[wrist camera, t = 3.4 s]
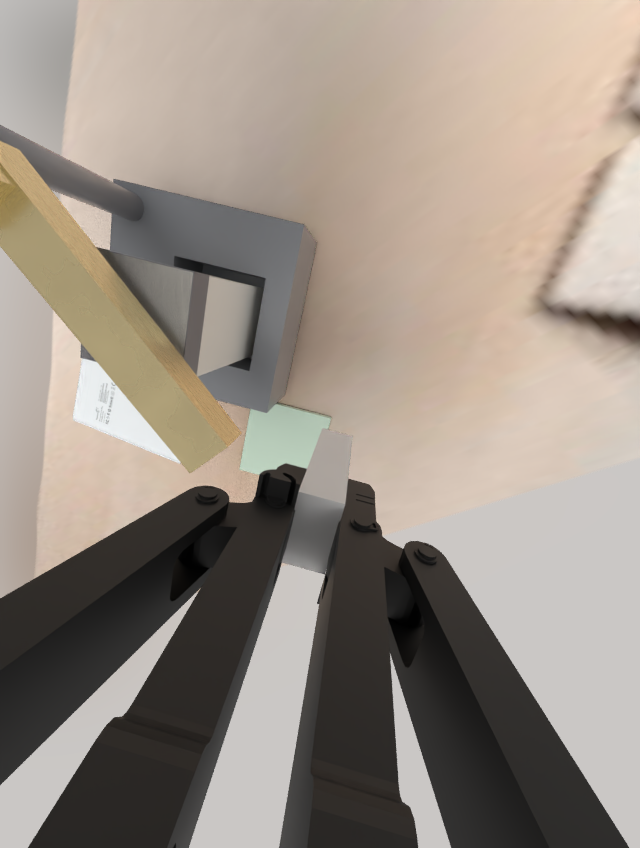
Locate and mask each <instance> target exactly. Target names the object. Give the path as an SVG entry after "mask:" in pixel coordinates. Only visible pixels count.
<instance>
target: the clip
mask: <svg viewBox="0 0 640 848" xmlns="http://www.w3.org/2000/svg"><path fill="white" fill-rule="evenodd" d="M0 246H1V248H2V249H3V250H4V251H5V253H6V254H7V255H8V256H9V257H10V259H12V261H13V262H14V263H15V264H16V266H17V267H18V268H19V269H20V270H21V272H22V273H23V274H24V275H25V276H26V278H27V279H28V280H29V281H30V282H31V284H32V285H33V286H34V287H35V289H37V291H38V292H39V293H40V294H41V296H42V297H43V298H44V299H45V300H46V302H47V303H48V304H49V305H50V306H51V308H52V309H53V310H54V311H55V312H56V314H57V315H58V316H59V317H60V318H61V320H62V321H63V322H64V323H65V324H66V326H67V327H68V328H69V329H70V330H71V332H72V333H73V334H74V335H75V336H76V338H77V339H78V340H79V341H80V342H81V344H82V345H83V346H84V347H85V348H86V350H87V351H88V352H89V353H90V354H91V356H92V357H93V358H94V359H95V360H96V362H97V363H98V364H99V365H100V366H101V368H102V369H103V370H104V371H105V372H106V374H107V375H108V376H109V377H110V378H111V380H112V381H113V382H114V383H115V384H116V386H117V387H118V388H119V389H120V390H121V392H122V393H123V394H124V395H125V396H126V397H127V399H128V400H129V401H130V402H131V403H132V405H133V406H134V407H135V408H136V409H137V411H138V412H139V413H140V414H141V415H142V417H143V418H144V419H145V420H146V421H147V423H148V424H149V425H150V426H151V427H152V429H153V430H154V431H155V432H156V433H157V435H158V436H159V437H160V438H161V439H162V441H163V442H164V443H165V444H166V445H167V447H168V448H169V449H170V450H171V451H172V453H173V454H174V455H175V456H176V457H177V459H178V460H179V461H180V462H181V463H182V465H183V466H184V467H185V468H186V469H187V471H188V472H189V473H191V472H193V471H194V470H196V469H197V468H198V467H200V466H201V465H203V464H204V463H206V462H207V461H208V460H210V459H211V458H213V457H214V456H216V455H217V454H218V453H220V452H221V451H223V450H224V449H226V448H227V447H228V446H229V445H230V444H231V443H232V442H233V441H234V440H235V439H236V438H237V437H238V436H239V435H240V434H241V431H240V430H239V429H238V428H237V426H236V425H235V424H234V422H233V421H232V420H231V419H230V417H229V416H228V415H227V414H226V412H225V411H224V410H223V408H222V407H221V406H220V405H219V403H218V402H217V401H216V399H215V398H214V397H213V396H212V394H211V393H210V392H209V391H208V389H207V388H206V387H205V385H204V384H203V383H202V382H201V380H200V379H199V378H198V377H197V375H196V374H195V373H194V371H193V370H192V369H191V368H190V366H189V365H188V364H187V363H186V361H185V360H184V359H183V357H182V356H181V355H180V354H179V352H178V351H177V350H176V349H175V347H174V346H173V345H172V343H171V342H170V341H169V340H168V338H167V337H166V336H165V335H164V333H163V332H162V331H161V329H160V328H159V327H158V326H157V324H156V323H155V322H154V321H153V319H152V318H151V317H150V315H149V314H148V313H147V312H146V310H145V309H144V308H143V306H142V305H141V304H140V303H139V301H138V300H137V299H136V298H135V296H134V295H133V294H132V292H131V291H130V290H129V289H128V287H127V286H126V285H125V284H124V282H123V281H122V280H121V278H120V277H119V276H118V275H117V273H116V272H115V271H114V270H113V268H112V267H111V266H110V264H109V263H108V262H107V261H106V259H105V258H104V257H103V256H102V254H101V253H100V252H99V250H98V249H97V248H96V247H95V245H94V244H93V243H92V242H91V240H90V239H89V238H88V236H87V235H86V234H85V233H84V231H83V230H82V229H81V228H80V226H79V225H78V224H77V222H76V221H75V220H74V219H73V217H72V216H71V215H70V214H69V212H68V211H67V210H66V208H65V207H64V206H63V205H62V203H61V202H60V201H59V199H58V198H57V197H56V196H55V194H54V193H53V192H52V191H51V189H50V188H49V187H48V185H47V184H46V183H45V182H44V180H43V179H42V178H41V177H40V175H39V174H38V173H37V171H36V170H35V169H34V168H33V166H32V165H31V164H30V163H29V161H28V160H27V159H26V157H25V156H24V155H23V154H22V152H21V151H20V150H19V149H17V148H15V147H12V146H10V145H8V144H6V143H4V142H2V141H0Z"/></svg>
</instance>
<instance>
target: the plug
mask: <svg viewBox="0 0 640 848" xmlns="http://www.w3.org/2000/svg"><path fill="white" fill-rule="evenodd" d="M96 248H97V249H98V250H99V252H100V253H101V254H102V256H103V257H104V258H105V259H106V261H107V262H108V263H109V264H110V266H111V267H112V268H113V270H114V271H115V272H116V273H117V275H118V276H119V277H120V278H121V280H122V281H123V282H124V284H125V285H126V286H127V287H128V289H129V290H130V291H131V292H132V294H133V295H134V296H135V298H136V299H137V300H138V301H139V303H140V304H141V305H142V306H143V308H144V309H145V310H146V312H147V313H148V314H149V315H150V317H151V318H152V319H153V321H154V322H155V323H156V324H157V326H158V327H159V328H160V329H161V331H162V332H163V333H164V335H165V336H166V337H167V338H168V340H169V341H170V342H171V343H172V345H173V346H174V347H175V349H176V350H177V351H178V352H179V354H180V355H181V356H182V357H183V359H184V360H185V361H186V363H187V364H188V365H189V366H190V368H191V369H192V370H193V371H194V373H195V374H196V375H197V377H198V376H200V375H203V374H206V373H208V372H211V371H213V370H216V369H219V368H221V367H224V366H227V365H229V364H232V363H234V362H237V361H240V360H242V359H245V358H247V357H250V356H252V354H253V349H254V343H255V337H256V331H257V326H258V320H259V314H260V309H261V303H262V297H263V292H264V288H260V287H256V286H252V285H248V284H244V283H240V282H236V281H232V280H228V279H224V278H220V277H216V276H212V275H208V274H203V273H199V272H195V271H191V270H186V269H182V268H178V267H174V266H170V265H166V264H162V263H158V262H154V261H150V260H146V259H142V258H138V257H134V256H130V255H126V254H122V253H118V252H114V251H110V250H106V249H102V248H98V247H96ZM81 358H83V359H87V360H91V361H94V362H96V360H95V359H94V358H93V357H92V356H91V354H90V353H89V352H88V351H87V350H86V348H85V347H84V346H83V345H82V344H81Z"/></svg>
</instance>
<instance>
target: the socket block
mask: <svg viewBox="0 0 640 848" xmlns="http://www.w3.org/2000/svg"><path fill="white" fill-rule="evenodd" d="M0 141H2V142H4V143H6V144H8V145H10V146H12V147H15V148H17V149H19V150H20V151H21V152H22V154H23V155H24V156H25V157H26V159H27V160H28V161H29V163H30V164H31V165H32V166H33V168H34V169H35V170H36V171H37V173H38V174H39V175H40V177H41V178H42V179H43V180H44V182H45V183H46V184H47V185H48V187H49V188H50V189H51V190H53V191H55V192H58V193H61V194H63V195H66V196H68V197H71V198H73V199H76V200H79V201H81V202H84V203H86V204H89V205H92V206H94V207H97V208H99V209H102V210H104V211H107V212H110V213H112V221H111V242H110V251H114V252H118V253H122V254H126V255H130V256H134V257H138V258H142V259H146V260H150V261H154V262H158V263H162V264H166V265H170V266H174V267H178V268H182V269H186V270H191V271H195V272H199V273H203V274H208V275H212V276H216V277H220V278H224V279H228V280H232V281H236V282H240V283H244V284H248V285H252V286H256V287H260V288H264V292H263V297H262V303H261V309H260V314H259V320H258V326H257V331H256V337H255V343H254V349H253V354H252V356H250V357H247V358H245V359H242V360H240V361H237V362H234V363H232V364H229V365H227V366H224V367H221V368H219V369H216V370H213V371H211V372H208V373H206V374H203V375H200V376H198V378H199V379H200V380H201V382H202V383H203V384H204V385H205V387H206V388H207V389H208V391H209V392H210V393H211V394H212V396H213V397H214V398H215V399H216V400H219V401H223V402H226V403H230V404H234V405H238V406H241V407H245V408H249V409H253V410H257V411H260V412H264V413H268V412H269V411H270V410H271V408H272V407H273V406H274V405H275V404H276V403H277V402H278V401H279V400H280V399H281V398H282V397H283V396H284V395H285V393H286V388H287V383H288V378H289V374H290V369H291V364H292V359H293V355H294V350H295V345H296V340H297V336H298V331H299V326H300V321H301V317H302V312H303V307H304V303H305V298H306V293H307V288H308V284H309V279H310V274H311V269H312V265H313V260H314V255H315V250H316V246H317V242H316V240H315V239H314V238H313V236H312V235H311V233H310V232H309V231H308V229H307V228H306V226H305V225H304V224H300V223H296V222H292V221H288V220H283V219H279V218H275V217H271V216H267V215H263V214H258V213H254V212H250V211H246V210H242V209H238V208H233V207H229V206H225V205H221V204H217V203H213V202H208V201H204V200H200V199H196V198H192V197H188V196H183V195H179V194H175V193H171V192H167V191H163V190H158V189H154V188H150V187H146V186H142V185H138V184H133V183H129V182H125V181H121V180H117V179H114V180H113V182H111V181H109V180H107V179H105V178H103V177H101V176H99V175H97V174H95V173H93V172H91V171H89V170H88V169H86V168H84V167H82V166H80V165H78V164H76V163H74V162H72V161H70V160H68V159H66V158H64V157H62V156H60V155H58V154H56V153H54V152H52V151H50V150H48V149H46V148H44V147H42V146H40V145H38V144H37V143H35V142H33V141H30V140H29V139H27V138H25V137H23V136H21V135H19V134H17V133H15V132H13V131H11V130H9V129H7V128H5V127H3V126H1V125H0Z"/></svg>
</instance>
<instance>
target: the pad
mask: <svg viewBox="0 0 640 848" xmlns="http://www.w3.org/2000/svg"><path fill="white" fill-rule="evenodd" d="M330 420H331V417H330V416H326V415H322V414H319V413H315V412H311V411H307V410H303V409H300V408H296V407H292V406H288V405H284V404H281V403H276V404H275V405H274V406H273V407H272V408H271V410H270V411H269V412H268V413H264V412H260V411H257V410H253V409H250V415H249V420H248V425H247V431H246V436H245V442H244V447H243V453H242V458H241V464H240V469H239V470H243V471H247V472H250V473H254V474H258V475H260V473H262V472H263V471H266V470H270V469H277V467H279V466H281V465H283V464H285V463H287V464H291V465H294V466H298V467H302V468H306V469H307V468H308V465H309V462H310V460H311V457H312V454H313V452H314V449H315V447H316V444H317V441H318V439H319V436H320V433H321V431H322V428H324V429H328V428H329V424H330Z"/></svg>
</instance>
